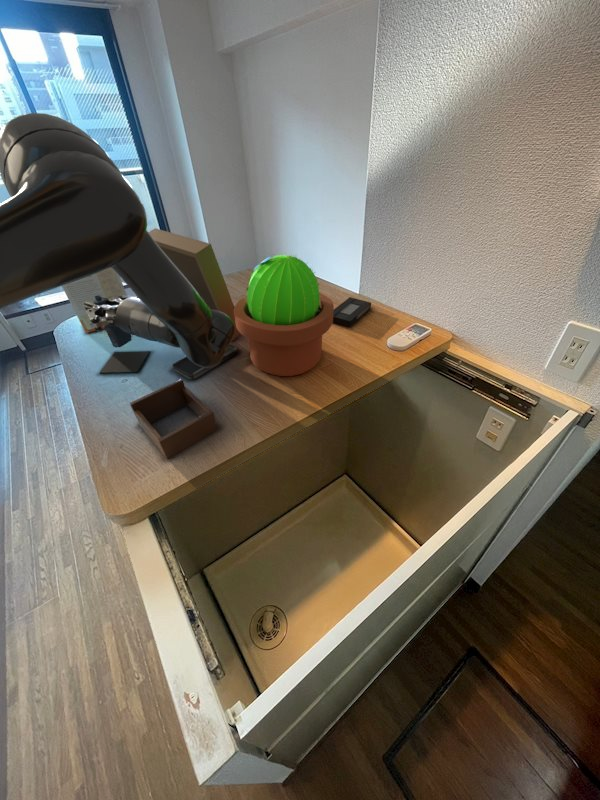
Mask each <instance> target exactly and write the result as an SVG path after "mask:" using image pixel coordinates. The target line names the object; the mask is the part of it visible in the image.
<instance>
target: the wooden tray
mask: <svg viewBox="0 0 600 800" xmlns="http://www.w3.org/2000/svg"><path fill="white" fill-rule="evenodd" d="M129 405H130V407H131V410H132V412H133V413H134V416H135V418H136V420H137V422H138V424H139V426H140V427H141V428H142V430H143V431H144V433H145V434H146V435H147V436H148V437H149V438H150V440H151V441H152V442H153V443H154V444H155V446H156V447H157V448H158V450H159V451H160V452H161V453H162V455H163V456H164V457H165V458H166V459H169V458H171V457H173V456H174V455H176V454H178V453H179V452H181V451H183V450H184V449H186V448H188V447H189V446H191V445H193V444H195V443H196V442H198V441H199V440H201V439H204V438H205V437H206V436H208V435H210V434H212V433H213V432H215V431H217V430H218V424H217V421H216V416H215V413H214V411H213V410H211V409H210V408H209V406H207V405H206V403H204V402H203V401H202V400H201V399H200V398H199V397H197V396H196V395H195V394H194V393H193V392H192V391H191V390H190V389H189V388H188V387H186V385H185V382H184V380H183V379H182V378H180V379H178V380H175V381H174V382H172V383H170V384H167V385H165V386H163V387H161V388H159V389H157V390H155V391H152V392H150V393H148V394H146V395H144V396H141V397H139V398H136V399H135V400H133V401H130V402H129ZM186 405H187V406H188V407H189V408H190V409H191V410H192V411H193V412H194V413H195V414H196V415H197V416H198V417H196V418H195V419H193V420H190V421H189V422H187V423H186V424H184V425H182V426H179V428H176V429H175V430H173V431H170V432H169V433H167V434H166V435H164V436H162V435H160V433H159V432H158V431H157V430H156V428H155V427H154V426H153V424H151V423H153V422H155V421H157V420H159V419H161V418H162V417H164V416H165V417H166V416H167V415H169V414H171V413H173V412H174V411H177V410H178V409H181V408H182V407H185V406H186Z"/></svg>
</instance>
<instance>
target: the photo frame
mask: <svg viewBox="0 0 600 800" xmlns="http://www.w3.org/2000/svg"><path fill="white" fill-rule="evenodd" d="M148 233H149V234H150V235H151V237H152V238H153V239H154V241H155V242H156V243H157V244H158V245H159V247H160V248H161V249H162V250H163V252H164V253H165V254H166V255H167V256H168V257H169V259H170V260H171V261H172V262H173V263H174V264H175V266H176V267H177V268H178V269H179V270H180V271H181V272H182V274H183V275H184V276H185V277H186V278H187V279H188V281H189V282H190V283H191V284H192V285H193V286H194V288H195V289H196V290H197V292H198V293H199V294H200V295H201V297H202V298H203V299H204V301H205V302H206V303H207V305H208V306H209V308H210V309H214V310H218V311H221V312H223V313H225V314H227V315H228V316H229V317H230V318H231V319H232V320H233V322H234V325H235V332H234V335H233V337H232V339H231V341H232V342H233V341H235V340H236V338H238V337H239V336H240V335H242V334H241V333H240V332H239V331H238V330H237V328H236V324H235V318H234V307H235V305H234V302H233V299H232V296H231V294H230V291H229V289H228V286H227V283H226V280H225V277H224V276H223V273H222V270H221V267H220V265H219V261H218V260H217V256H216V254H215V252H214V249H213V246H212V243H210V242H206V241H203V240H200V239H199V240H198V239H195V238H191V237H188V236H185V235H181V234H177V233H174V232H171V231H167V230H162V229H159V228H156V227H155V228H153V229H151V230H149V231H148Z"/></svg>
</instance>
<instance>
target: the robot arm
mask: <svg viewBox="0 0 600 800" xmlns="http://www.w3.org/2000/svg"><path fill="white" fill-rule="evenodd" d="M0 177H1V180H2V182H3V185H4V186H5V188H6V191H7V193H8V196H9V197H10V198H8V199H7V200H5V201H3V202H2V203H0V311H1V310H4V309H6V308H8V307H10V306H12V305H15V304H18V303H20V302H22V301H25V300H27V299H30V298H32V297H36V296H38V295H40V294H41V295H42V294H44V293H46V292H48V291H49V292H50V291H52V290H54V289H57V288H60V287H62V286H63V285H66V284H68V283H71V282H74V281H77V280H80V279H82V278H85V277H88V276H90V275H93V274H96V273H98V272H100V271H103V270H105V269H108V268H110V267H112V268H113V269H114V270H115V272H116V273H117V274H118V275H119V276H120V279H121V280H123V282H124V283H125V284H126V286H128V288H129V289H130V290H131V291H132V293H134V294H133V295H127V296H118V297H117V298H118V299H114V298H110V299H108V298H103V297H101V299H105V300H106V303H107V305H105V304H104V305H102V306H100V305H97V304H94V303H90V302H85V303H84V307H85V309H86V311H87V313H88V316H89V318H90V320H91V322H92V324H93V327H94V329H95V331H94V332H100V331H102V330H103V329H102V328H101V327H103V326H104V325H109V326H117V327H119V328H120V329H122V330H123V331H124V332H126V333H129V334H131V336H135V337H138V338H141V339H144V340H146V341H152V342H155V343H161V344H163V345H166V346H170V347H173V348H179V349H181V351H182V353H183V354H184V355H185V357H187V358H188V359H189V360H190V361H192V362H193V363H194V364H196V365H198V366H200V367H204V368H211V367H214V368H216V367H217V366H219V365H220V364H221V363H220V362H221V360H222V358H223V356H224V354H225V352H226V350H227V348H228V346H229V344H231V341H232V340H231V339H232V337H233V335H234V332H235V325H234V322H233V320H232V319H231V318H230V317H229V316H228V315H227V314H225V313H223V312H221V311H218V310H214V309H210V308H209V306H208V305H207V303H206V302H205V301H204V299H203V298H202V297H201V295H200V294H199V293H198V292H197V290H196V289H195V288H194V286H193V285H192V284H191V283H190V282H189V281H188V279H187V278H186V277H185V276H184V275H183V274H182V272H181V271H180V270H179V269H178V268H177V267H176V266H175V264H174V263H173V262H172V261H171V260H170V259H169V257H168V256H167V255H166V254H165V253H164V252H163V250H162V249H161V248H160V247H159V245H158V244H157V243H156V242H155V241H154V239H153V238H152V237H151V235H150V234H149V233H148V232H149V231H148V230H147V229H148V217H147V212H146V208H145V206H144V203H143V202H142V200H141V199H140V197H139V195H138V194H137V193H136V191H135V189H134V188H133V186H132V185H131V184H130V182H129V181H128V180H127V179H126V178H125V176H124V175H123V173H122V171H121V170H120V169H119V168H118V166H117V165H116V164H115V162H114V161H113V159H112V158H111V157H110V156H109V154H108V153H107V152H106V151H105V149H104V148H102V146H101V145H100V144H99V142H97V141H96V140H95V139H94V138H93V137H91V136H90V135H89V134H88V133H87V132H85V130H83V129H82V128H80V127H78V126H77V125H75V124H73V123H72V122H71V121H68V120H66V119H63V118H62V117H60V116H57V115H53V114H49V113H44V112H43V113H41V112H29V113H23V114H20V115H18V116H16V117H14V118H11V119H9V121H7V122H6V123H5V124H4V125H3V127H2V128H1V130H0ZM219 363H220V364H219ZM218 364H219V365H218ZM216 365H217V366H216ZM215 366H216V367H215Z"/></svg>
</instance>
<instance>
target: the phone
mask: <svg viewBox="0 0 600 800" xmlns="http://www.w3.org/2000/svg"><path fill="white" fill-rule="evenodd" d="M237 354H238V349H237V347H236V346H234V345H232V344H231V343H229V346H228V348H227V350H226V352H225V354H224V356H223V358H222V360H221V362H220V363H219V364H218V365H216V366H215V367H211V368H204V367H200V366H198V365H196V364H194V363H193V362H192V361H190V360H189V359H188V358H187V357H186V356H184V357H183V358H181V359H179V360H177V361H176V362H174V363H173V364H172V369H173V371H174V372H176V373H178V374H179V375H182V377H185V378H186V379H188V380H196V379H197V378H199V377H201V376H202V375H204V374H206V373H207V372H209V371H211V370H212V369H214V368H216V367H217V366H219V365H220V364H222V363H224V362H226V361H227V360H229V359H231V358H232V357H235V355H237Z"/></svg>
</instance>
